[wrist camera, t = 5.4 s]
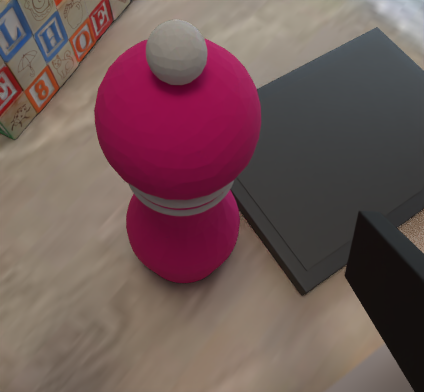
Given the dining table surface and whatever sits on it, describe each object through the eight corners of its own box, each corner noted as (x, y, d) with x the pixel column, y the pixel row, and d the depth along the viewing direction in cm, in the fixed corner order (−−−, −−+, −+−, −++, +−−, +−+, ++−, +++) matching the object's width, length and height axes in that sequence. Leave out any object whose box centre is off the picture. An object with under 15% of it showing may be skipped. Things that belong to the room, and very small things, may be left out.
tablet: (301, 295, 27) (306, 293, 26) (184, 134, 32) (184, 126, 31) (496, 155, 33) (507, 148, 32) (371, 36, 38) (377, 25, 37)
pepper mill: (115, 244, 28) (-23, 28, 10) (182, 180, 30) (173, -90, 12) (186, 312, 26) (179, 206, 8) (251, 239, 29) (360, 29, 11)
